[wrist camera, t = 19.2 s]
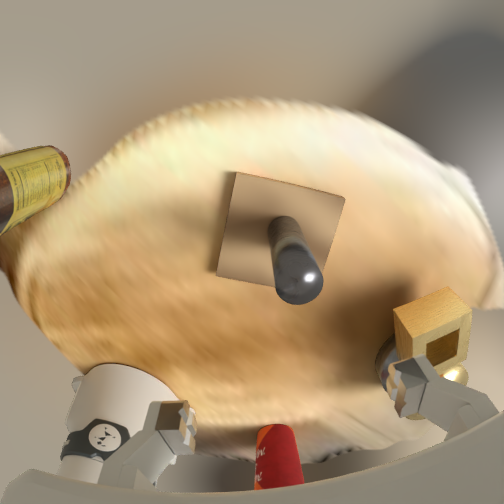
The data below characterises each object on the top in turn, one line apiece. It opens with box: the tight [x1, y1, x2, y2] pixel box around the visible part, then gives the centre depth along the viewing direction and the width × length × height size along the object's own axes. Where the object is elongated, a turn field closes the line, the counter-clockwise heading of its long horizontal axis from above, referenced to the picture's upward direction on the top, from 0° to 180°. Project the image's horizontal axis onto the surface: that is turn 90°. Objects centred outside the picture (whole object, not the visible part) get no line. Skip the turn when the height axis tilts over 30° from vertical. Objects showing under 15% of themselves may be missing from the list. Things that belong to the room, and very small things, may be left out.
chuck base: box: [375, 333, 399, 393], centre depth 35 cm, size 11×11×3 cm
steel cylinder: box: [267, 216, 323, 305], centre depth 24 cm, size 3×3×10 cm
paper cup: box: [254, 424, 304, 490], centre depth 35 cm, size 8×8×14 cm
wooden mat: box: [216, 172, 345, 287], centre depth 29 cm, size 10×10×1 cm
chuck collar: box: [393, 287, 472, 420], centre depth 29 cm, size 16×9×5 cm, turn 19°
